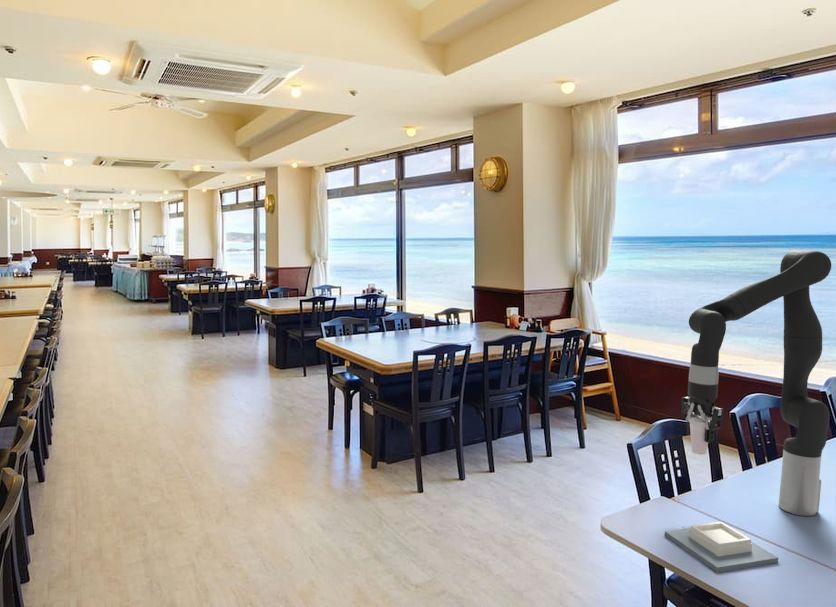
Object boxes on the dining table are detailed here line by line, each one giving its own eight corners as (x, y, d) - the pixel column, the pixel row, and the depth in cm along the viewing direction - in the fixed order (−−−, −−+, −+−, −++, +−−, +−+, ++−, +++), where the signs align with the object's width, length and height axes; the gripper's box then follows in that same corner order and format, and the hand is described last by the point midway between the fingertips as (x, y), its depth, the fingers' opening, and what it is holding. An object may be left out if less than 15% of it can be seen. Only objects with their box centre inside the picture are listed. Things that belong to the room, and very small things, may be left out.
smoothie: (714, 457, 164) (717, 408, 163) (689, 455, 165) (692, 406, 164) (707, 449, 170) (711, 402, 169) (684, 447, 172) (687, 400, 170)
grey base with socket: (720, 527, 159) (721, 512, 158) (778, 562, 142) (779, 545, 141) (664, 535, 154) (665, 519, 153) (716, 572, 136) (718, 555, 136)
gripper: (734, 385, 160) (730, 445, 162) (695, 374, 174) (692, 429, 175) (711, 387, 158) (707, 447, 160) (674, 375, 172) (671, 431, 173)
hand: (699, 437), depth 167 cm, fingers closed on smoothie, 6 cm apart
